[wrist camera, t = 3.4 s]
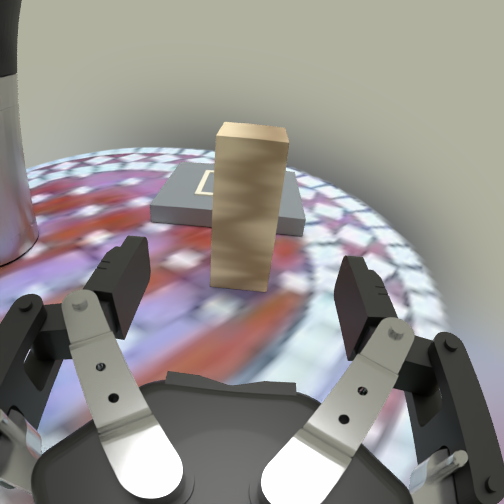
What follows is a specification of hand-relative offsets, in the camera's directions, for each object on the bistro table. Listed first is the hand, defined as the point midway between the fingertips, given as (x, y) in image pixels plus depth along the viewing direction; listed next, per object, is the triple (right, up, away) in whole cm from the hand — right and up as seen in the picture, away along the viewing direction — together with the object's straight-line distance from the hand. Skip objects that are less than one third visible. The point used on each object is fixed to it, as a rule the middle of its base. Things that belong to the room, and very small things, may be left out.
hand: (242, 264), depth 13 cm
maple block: (-1, -1, +15) cm, 15 cm away
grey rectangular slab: (-2, +7, +26) cm, 27 cm away
